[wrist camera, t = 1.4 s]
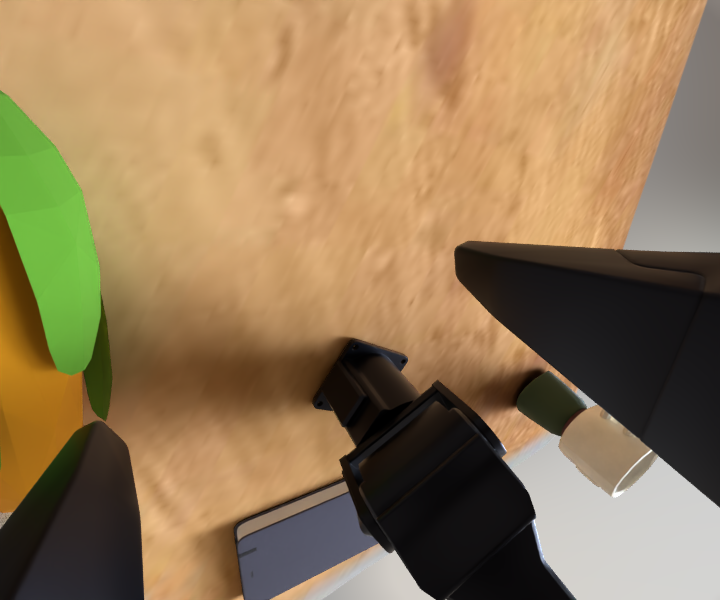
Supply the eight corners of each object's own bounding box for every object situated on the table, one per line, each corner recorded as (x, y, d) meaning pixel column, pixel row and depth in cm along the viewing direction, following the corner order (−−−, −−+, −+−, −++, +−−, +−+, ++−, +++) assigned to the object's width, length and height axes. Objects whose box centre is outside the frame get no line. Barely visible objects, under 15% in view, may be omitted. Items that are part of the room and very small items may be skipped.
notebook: (242, 595, 37) (412, 511, 47) (246, 612, 36) (419, 522, 46) (232, 524, 31) (429, 443, 41) (236, 541, 30) (438, 454, 39)
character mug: (539, 407, 50) (637, 488, 40) (501, 427, 47) (596, 518, 37) (562, 346, 44) (682, 421, 35) (520, 364, 42) (637, 452, 32)
